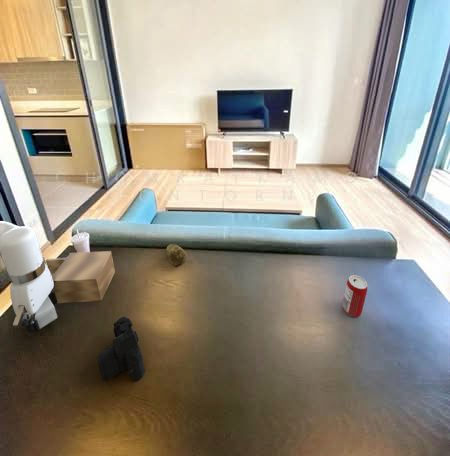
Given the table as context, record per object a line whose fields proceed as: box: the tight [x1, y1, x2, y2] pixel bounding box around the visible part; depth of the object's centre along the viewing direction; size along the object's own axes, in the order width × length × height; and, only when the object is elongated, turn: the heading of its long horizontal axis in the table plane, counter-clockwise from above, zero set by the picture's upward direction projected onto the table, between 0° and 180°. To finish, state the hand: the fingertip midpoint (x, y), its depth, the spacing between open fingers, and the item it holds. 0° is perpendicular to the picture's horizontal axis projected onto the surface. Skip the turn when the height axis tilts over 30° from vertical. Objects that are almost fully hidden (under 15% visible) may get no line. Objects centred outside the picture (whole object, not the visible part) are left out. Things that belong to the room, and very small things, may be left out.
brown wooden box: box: [54, 250, 116, 304], centre depth 86 cm, size 15×13×10 cm
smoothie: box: [70, 228, 91, 253], centre depth 99 cm, size 6×6×14 cm
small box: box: [27, 296, 58, 330], centre depth 73 cm, size 6×6×5 cm
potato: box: [165, 243, 188, 268], centre depth 97 cm, size 8×13×8 cm, turn 9°
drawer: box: [42, 256, 67, 273], centre depth 86 cm, size 18×11×8 cm, turn 93°
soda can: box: [341, 274, 368, 318], centre depth 77 cm, size 6×6×12 cm
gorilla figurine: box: [96, 316, 146, 383], centre depth 64 cm, size 15×10×9 cm, turn 36°
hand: (43, 316), depth 73 cm, fingers closed on small box, 7 cm apart
